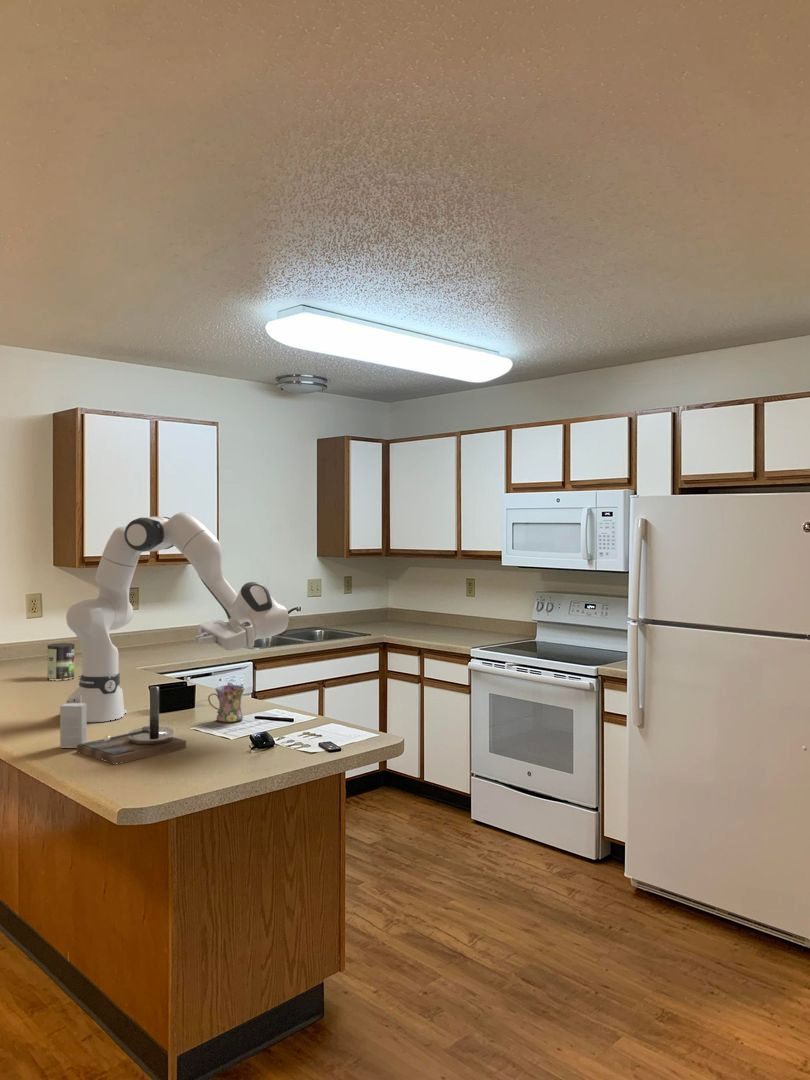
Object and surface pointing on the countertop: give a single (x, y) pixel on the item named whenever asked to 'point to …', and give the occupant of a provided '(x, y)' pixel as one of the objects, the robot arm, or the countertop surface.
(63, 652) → the coffee can
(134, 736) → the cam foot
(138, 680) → the countertop surface
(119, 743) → the stand
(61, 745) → the skincare box
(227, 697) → the mug
